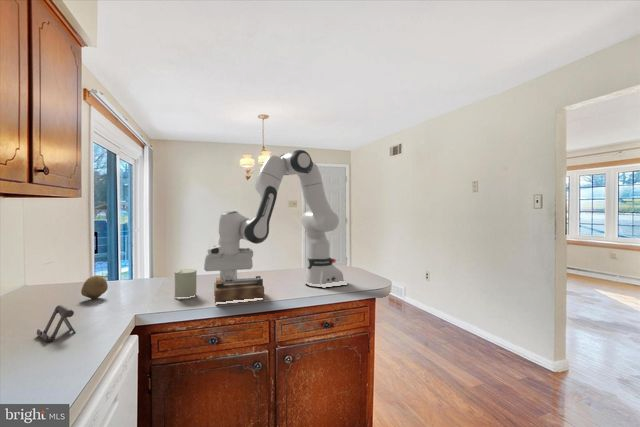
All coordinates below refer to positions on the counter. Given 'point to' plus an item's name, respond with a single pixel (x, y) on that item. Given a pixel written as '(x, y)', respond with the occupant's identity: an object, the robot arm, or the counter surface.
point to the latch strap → (236, 280)
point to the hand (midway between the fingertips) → (228, 280)
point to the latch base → (238, 291)
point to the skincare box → (228, 274)
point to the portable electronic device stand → (64, 314)
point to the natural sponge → (94, 287)
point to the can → (185, 282)
